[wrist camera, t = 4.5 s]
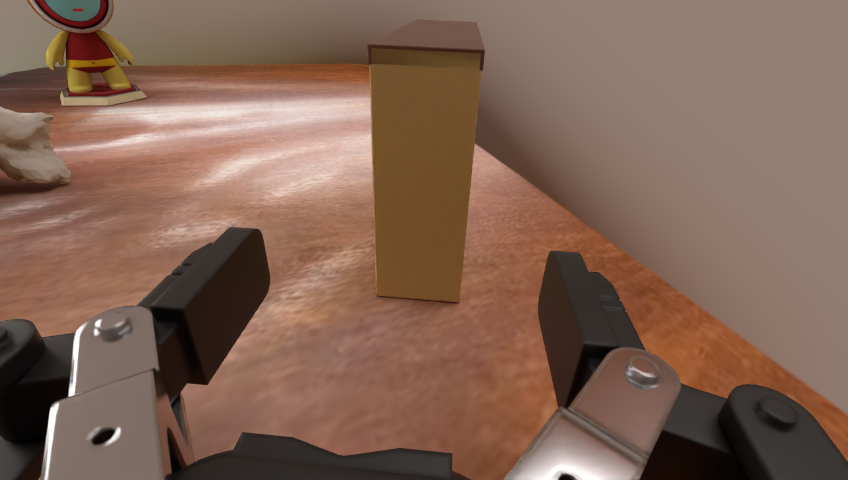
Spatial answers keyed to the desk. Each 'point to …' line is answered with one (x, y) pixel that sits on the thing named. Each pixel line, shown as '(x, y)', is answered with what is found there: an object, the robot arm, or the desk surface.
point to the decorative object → (29, 149)
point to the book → (423, 154)
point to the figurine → (87, 52)
